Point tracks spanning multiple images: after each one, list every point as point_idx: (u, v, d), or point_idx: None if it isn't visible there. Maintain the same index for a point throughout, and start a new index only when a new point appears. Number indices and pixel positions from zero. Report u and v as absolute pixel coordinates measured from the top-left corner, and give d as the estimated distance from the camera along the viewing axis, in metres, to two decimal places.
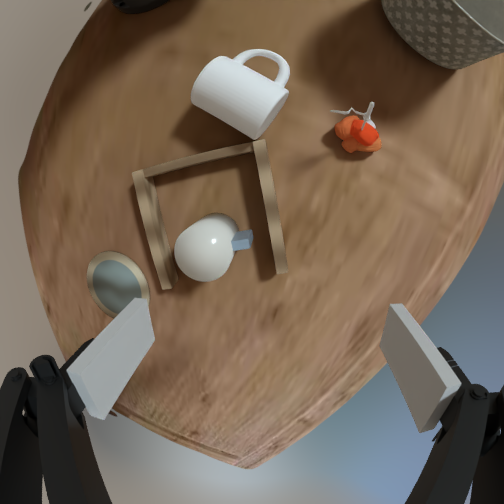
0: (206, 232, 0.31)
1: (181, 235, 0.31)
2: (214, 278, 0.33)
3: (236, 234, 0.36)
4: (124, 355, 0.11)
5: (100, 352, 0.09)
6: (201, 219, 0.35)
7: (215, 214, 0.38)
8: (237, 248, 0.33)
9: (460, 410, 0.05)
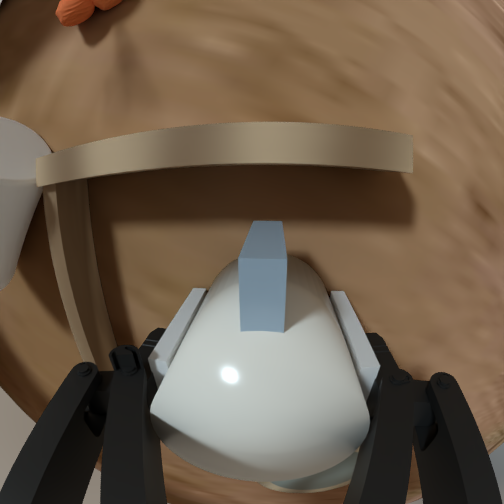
0: (174, 413, 0.07)
1: (186, 458, 0.08)
2: (364, 424, 0.06)
3: None
4: None
5: (179, 339, 0.10)
6: None
7: None
8: (276, 313, 0.07)
9: (380, 398, 0.07)
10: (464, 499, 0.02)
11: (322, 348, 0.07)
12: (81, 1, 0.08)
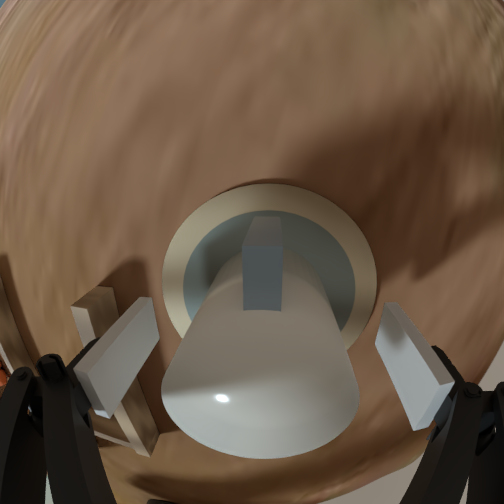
0: (183, 386, 0.08)
1: (192, 434, 0.09)
2: (354, 398, 0.08)
3: None
4: (130, 353, 0.11)
5: (107, 350, 0.09)
6: None
7: None
8: (274, 293, 0.08)
9: (454, 408, 0.06)
10: None
11: (314, 325, 0.08)
12: None
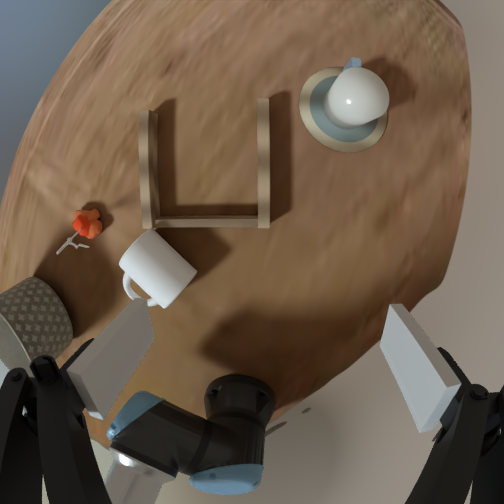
0: (342, 81, 0.26)
1: (342, 104, 0.27)
2: (386, 90, 0.25)
3: None
4: (124, 355, 0.11)
5: (100, 352, 0.09)
6: (328, 101, 0.31)
7: (324, 98, 0.33)
8: (359, 68, 0.26)
9: (460, 410, 0.05)
10: None
11: None
12: (93, 223, 0.41)
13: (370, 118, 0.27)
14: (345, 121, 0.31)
